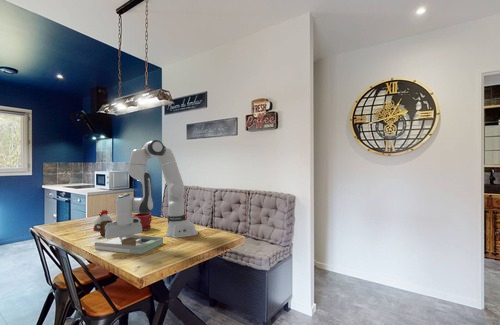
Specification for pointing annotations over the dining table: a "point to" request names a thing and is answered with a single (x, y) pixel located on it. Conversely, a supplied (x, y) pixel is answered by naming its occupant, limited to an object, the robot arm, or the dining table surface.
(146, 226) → the plant pot
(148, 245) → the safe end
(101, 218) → the kitchen timer
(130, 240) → the block
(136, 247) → the white board with recesses
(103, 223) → the mug
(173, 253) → the dining table surface
